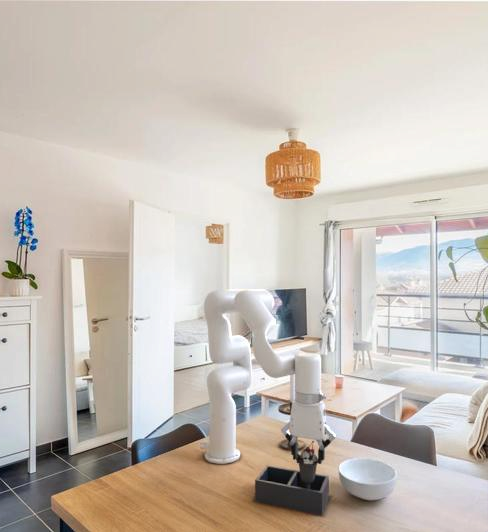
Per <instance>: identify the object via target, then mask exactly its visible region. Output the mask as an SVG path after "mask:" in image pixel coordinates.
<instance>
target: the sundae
mask: <svg viewBox="0 0 488 532" xmlns="http://www.w3.org/2000/svg"><path fill="white" fill-rule="evenodd" d="M314 443H315V440H311V443H310V445H309V446H306V447H305V448H303V449H302V450H301V452H300V454H299V453H298V454H297V455H298V457H297V458H296V459H295V462H296V463H297V464H298V469H299V471H300V476H301V479H302V481H303V482H304V483H305V484H306V489H310V483H312V482H313V481H314V479H315V475H316V474H317V466H318V464H319V463H318V455H317V454H316V453H315V452H316V451H315V448H314ZM310 446H311V447H310Z"/></svg>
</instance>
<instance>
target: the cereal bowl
mask: <svg viewBox="0 0 488 532" xmlns="http://www.w3.org/2000/svg"><path fill="white" fill-rule="evenodd" d="M397 476H398V475H397V471H396V469H395V468H394V467H393V466H391V464H389V463H387V462H384V461H382V460H379V459H375V458H370V457H369V458H368V457H352V458H348V459H345V460H344V461H342V462H341V463H340V464H339V466H338V478H339V482H340V484H341V486H342V487H343V488H344V490H345V491H346V492H348V493H349V494H351V496H352V495H353V497H354V496H355V497H357V498H359V499H361V500H364V501H378V500H380V499H384V498H386V497H388V496H390V495H391V494H392V493H393V492H394V491H395V489H396V487H397V483H398V482H397V480H398V477H397Z"/></svg>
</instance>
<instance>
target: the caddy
mask: <svg viewBox="0 0 488 532" xmlns="http://www.w3.org/2000/svg"><path fill="white" fill-rule="evenodd" d="M329 497H330V476H329V475H325V474H319V473H316V475H315V479H314V481H313V482H312V483H310V489H306V484H305V483H304V482H303V481H302V479H301V476H300V470H297V469H292V468H287V467H286V468H285V467H281V466H280V467H279V466H273V465H268V464H266V465H265V466H264V468H263V469H262V470H261V472H260V473H259V475H258V476H257V477H256V479H254V502H256V503H261V504H265V505H270V506H275V507H279V508H284V509H289V510H293V511H299V512H302V513H303V512H304V513H307V514H311V515H312V514H313V515H317V516H322V517H323V515H324V511H325V509H326V507H327V504H328V501H329Z"/></svg>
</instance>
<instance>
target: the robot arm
mask: <svg viewBox="0 0 488 532" xmlns="http://www.w3.org/2000/svg"><path fill="white" fill-rule="evenodd" d="M274 306H275V300H274V296H273V295H272V294H271V292H270V291H269V290H267V289H263V288H255V289H253V288H252V289H250V288H236V289H235V288H234V289H233V288H224V289H223V288H221V289H216V290H212V291H211V292H209V293H207V295H206V297H205V298H204V303H203V312H204V317H205V321H206V326H207V338H208V340H207V341H208V353H209V358H210V360H211V362H212V363H213V364H216V365H222V364H228V363H232V365H227V366H221V367H217V368H215V369H212V370H211V371H210V372H209V373H208V375H207V377H206V387H207V391H208V403H209V417H208V418H209V430H208V431H209V433H208V435H209V436H208V437H209V440H208V441H207V440H201V441H200V442H199V443H200V445H199V448H200V449H202V450H205V453H204V458H205V460H206V461H207V462H209V463H212V464H215V465H216V464H217V465H224V464H225V465H226V464H231V463H234V462H236V461H238V460H239V459H240V458H241V451H240V450H239V449H238V448H237V406H236V403H235V400H234V398H233V397H232V394H234V393H238V392H241V391H245V390H247V389H249V388H250V387H251V385H252V383H253V363H252V353H253V357H254V359H255V360H256V362H257V363H258V365H259V366H260V368H261V369H262V371H263V372H264V373H265V374H266V375H267V376H268V377H270V378H273V379H279V378H283V377H287V376H288V377H289V376H290V375H294V374H295V399H294V400H293V402H292V408H291V415H289V421H288V422H287V423H286V424H284V425H283V426H282V427H281V429H280V431H281V433H282V435H284V437H285V439H287V440H288V441H289V442H290V445H291V451H290V452H291V456H292V460H293V461H296V458H297V457H298V455H297V454H299V451H298V442H297V441H296V440H298V438H300V439H301V438H302V439H307V440H313V441H316V442H317V445H318V448H317V458H318V463H317V464H318V465H321V464H322V462H323V461H325V458H326V455H325V452H326V451H325V450H326V448H327V447H328V446H329V445H330V444H331V443H332V442H333V441H334V440H335V439H336V437H337V435H336V434H335V433H334V432H333V431H332V429H331V428H330V427H329V426H328V425H327V413H326V406H325V402H324V401H326V400H327V394H324V393H323V392H322V359H321V356H320V355H319V354H317V353H314V352H313V353H312V352H306V351H303V350H301V349H298V348H289V349H283V350H274V349H273V347H272V346H271V344H270V343H269V341H268V339H267V336H269V334H270V333H271V332H273V330H274V329H275V327H276V324H277V321H276V318H275V317H274V316H273V315H272V313H271V311H272V310H273V309H274ZM229 313H239V315H240V316H241V318H242V319H243V321H244V323H245V324H246V325H247V327H248V328H249V329H250V331H251V333H252V340H251V345H252V353H251V346H250V343H249V341H248V339H247V338H246V337H245V336H243V335H239V334H237V335H233V334H232V325H231V322H230V320H229V319H228V317H227V316H226V314H229ZM323 400H324V401H323ZM289 432H290V433H289ZM325 435H327V436H328V438H326V439H324V438H325Z"/></svg>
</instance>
